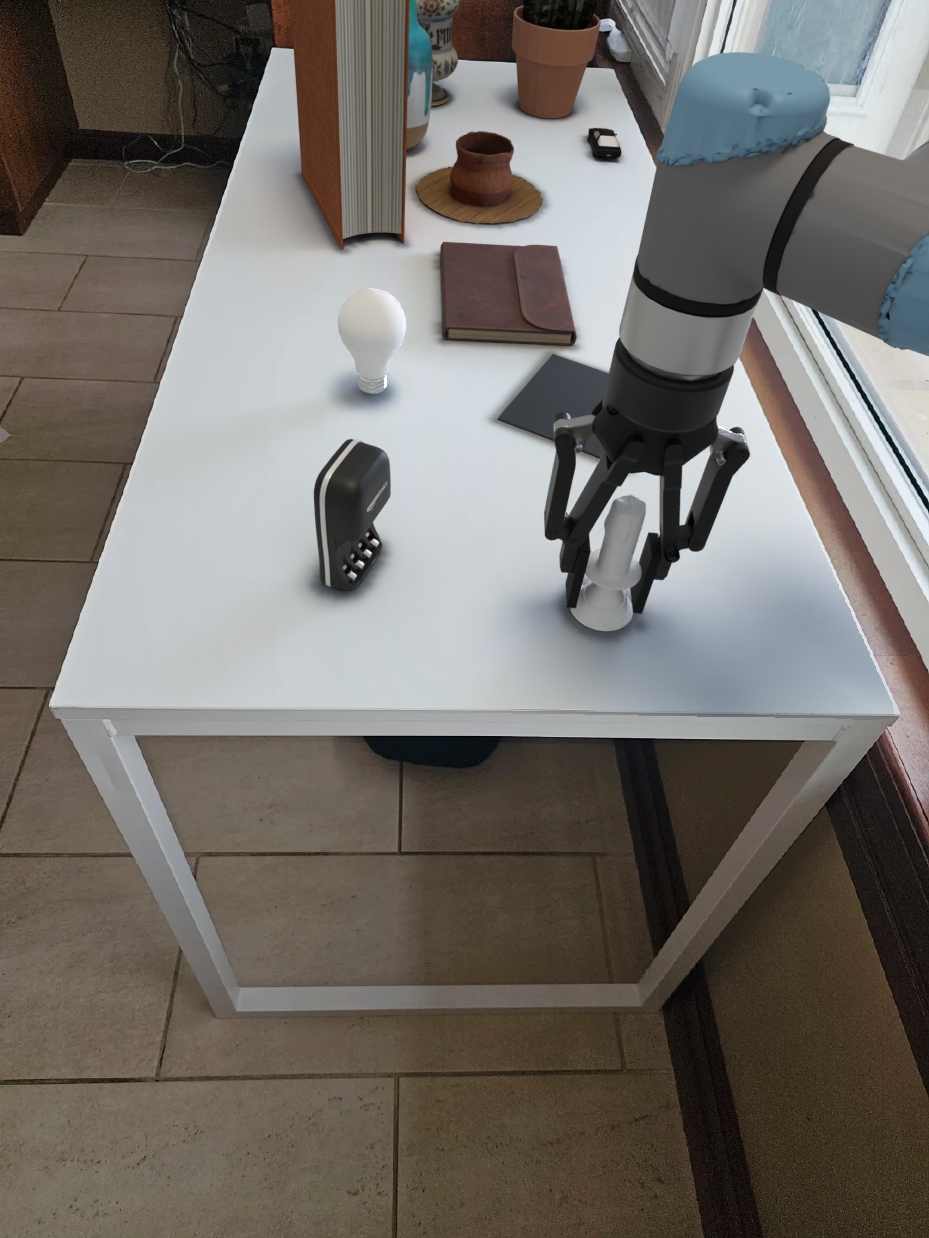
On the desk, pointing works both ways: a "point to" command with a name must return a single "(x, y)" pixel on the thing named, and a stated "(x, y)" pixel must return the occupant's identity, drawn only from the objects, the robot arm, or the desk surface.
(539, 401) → the mat
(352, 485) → the battery charger
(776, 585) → the desk surface
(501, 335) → the notebook
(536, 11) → the potted plant
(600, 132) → the toy car
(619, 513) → the candle
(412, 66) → the vase
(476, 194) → the ceramic pot
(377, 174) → the book
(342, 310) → the light bulb
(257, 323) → the desk surface
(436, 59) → the apothecary jar
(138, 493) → the desk surface
